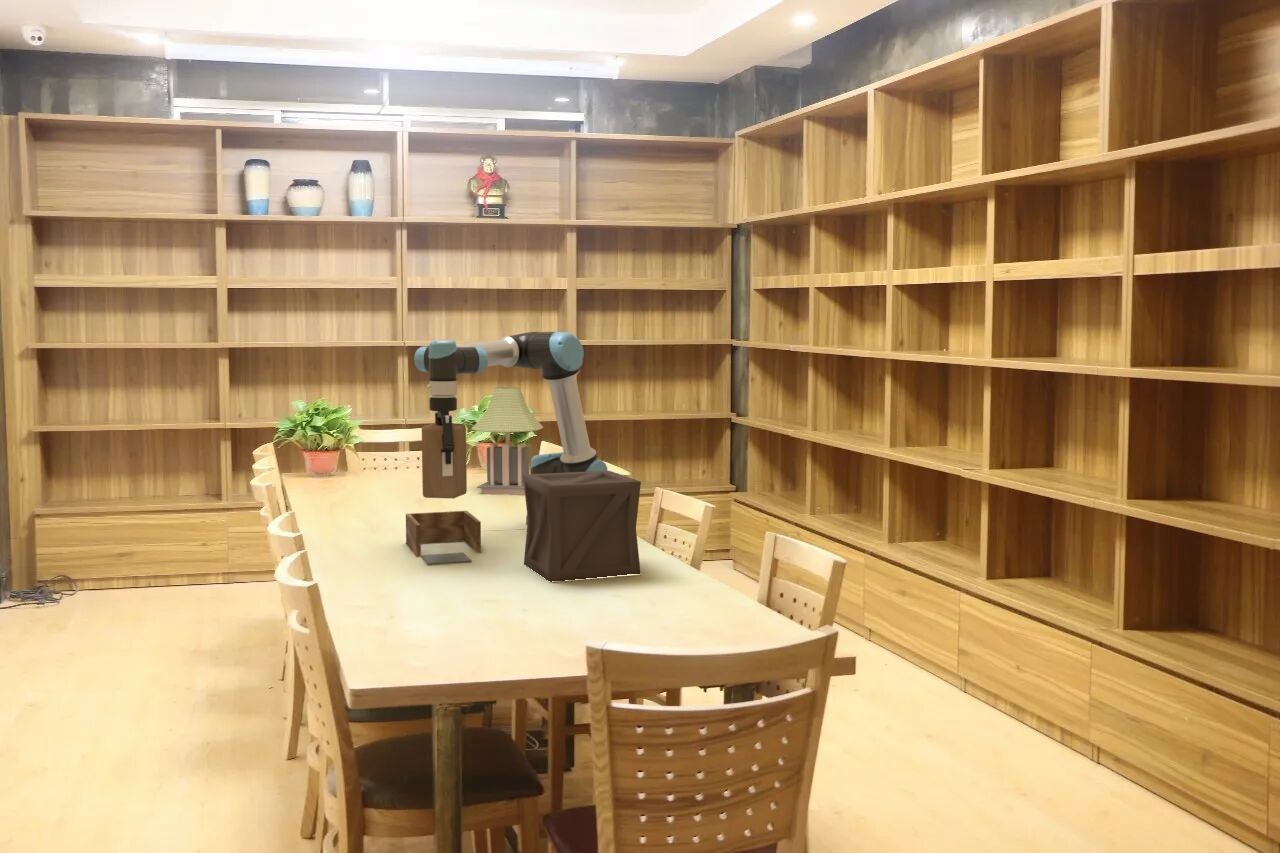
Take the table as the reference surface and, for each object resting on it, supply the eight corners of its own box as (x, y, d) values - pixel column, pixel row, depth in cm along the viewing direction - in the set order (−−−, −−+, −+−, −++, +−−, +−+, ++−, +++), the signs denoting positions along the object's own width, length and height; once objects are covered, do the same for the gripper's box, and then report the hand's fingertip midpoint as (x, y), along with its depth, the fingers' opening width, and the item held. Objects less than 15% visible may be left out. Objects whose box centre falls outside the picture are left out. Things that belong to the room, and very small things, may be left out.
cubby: (467, 540, 379) (467, 510, 378) (481, 552, 359) (480, 521, 358) (406, 543, 373) (405, 513, 372) (416, 556, 353) (416, 525, 352)
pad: (463, 554, 356) (463, 552, 356) (471, 562, 345) (471, 560, 345) (421, 557, 352) (421, 554, 352) (427, 565, 341) (427, 563, 341)
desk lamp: (465, 496, 469) (463, 389, 466) (486, 486, 497) (485, 385, 493) (531, 498, 465) (530, 390, 461) (549, 487, 493) (548, 385, 489)
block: (456, 499, 342) (455, 426, 341) (421, 498, 344) (420, 425, 342) (467, 494, 352) (467, 423, 350) (434, 493, 354) (433, 422, 352)
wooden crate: (609, 559, 351) (608, 470, 349) (641, 575, 328) (640, 480, 326) (523, 566, 342) (522, 474, 340) (550, 583, 319) (549, 484, 317)
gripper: (423, 394, 356) (424, 468, 358) (436, 399, 333) (437, 478, 335) (449, 393, 359) (450, 467, 360) (464, 398, 335) (465, 477, 337)
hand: (443, 473), depth 348 cm, fingers closed on block, 13 cm apart
